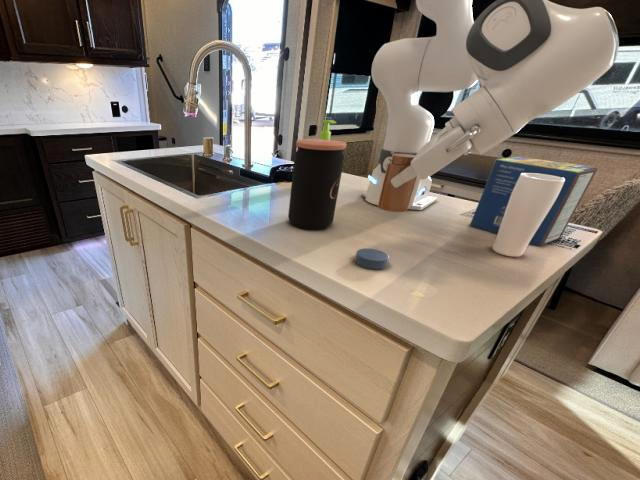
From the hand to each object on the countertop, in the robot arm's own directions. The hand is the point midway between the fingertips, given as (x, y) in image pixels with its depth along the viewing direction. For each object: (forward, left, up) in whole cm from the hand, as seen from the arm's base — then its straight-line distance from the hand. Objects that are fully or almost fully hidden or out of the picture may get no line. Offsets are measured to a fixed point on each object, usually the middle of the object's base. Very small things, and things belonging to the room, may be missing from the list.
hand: (395, 180), depth 63 cm
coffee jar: (+1, -19, -14) cm, 23 cm away
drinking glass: (-20, +16, -14) cm, 30 cm away
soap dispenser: (-33, -46, -14) cm, 58 cm away
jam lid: (+8, +3, -12) cm, 15 cm away
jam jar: (0, +1, -5) cm, 5 cm away
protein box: (-36, +12, -14) cm, 41 cm away
